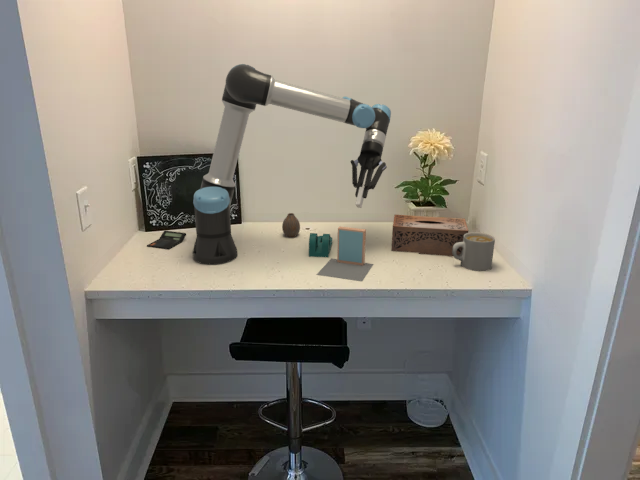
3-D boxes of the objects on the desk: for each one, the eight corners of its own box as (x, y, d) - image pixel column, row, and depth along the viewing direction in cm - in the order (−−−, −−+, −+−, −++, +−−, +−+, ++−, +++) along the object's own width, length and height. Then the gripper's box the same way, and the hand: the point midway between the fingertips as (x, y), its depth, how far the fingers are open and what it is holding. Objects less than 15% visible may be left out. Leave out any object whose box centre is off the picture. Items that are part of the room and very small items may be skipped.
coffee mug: (488, 260, 173) (491, 233, 170) (493, 271, 164) (497, 243, 160) (448, 258, 175) (451, 231, 171) (451, 269, 165) (454, 240, 162)
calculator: (147, 247, 184) (146, 239, 183) (165, 237, 194) (165, 230, 193) (169, 250, 181) (168, 242, 180) (186, 240, 192) (186, 232, 191)
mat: (316, 275, 160) (316, 274, 160) (331, 259, 173) (331, 258, 173) (362, 282, 155) (362, 281, 155) (373, 265, 168) (373, 264, 168)
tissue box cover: (391, 252, 180) (392, 226, 177) (393, 239, 194) (394, 214, 190) (465, 257, 176) (468, 230, 173) (462, 244, 189) (464, 218, 186)
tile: (337, 262, 170) (337, 228, 166) (339, 259, 172) (339, 226, 168) (363, 265, 167) (364, 231, 163) (364, 263, 169) (366, 229, 165)
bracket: (328, 259, 174) (328, 237, 171) (308, 258, 175) (308, 236, 172) (333, 241, 191) (333, 221, 188) (315, 240, 192) (315, 221, 189)
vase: (280, 233, 199) (280, 212, 196) (297, 232, 201) (297, 210, 198) (284, 239, 192) (284, 217, 190) (302, 237, 194) (302, 215, 192)
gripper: (352, 139, 177) (337, 199, 170) (389, 140, 172) (374, 202, 165) (357, 150, 183) (343, 208, 176) (392, 152, 179) (379, 212, 172)
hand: (358, 205), depth 171 cm, fingers closed
